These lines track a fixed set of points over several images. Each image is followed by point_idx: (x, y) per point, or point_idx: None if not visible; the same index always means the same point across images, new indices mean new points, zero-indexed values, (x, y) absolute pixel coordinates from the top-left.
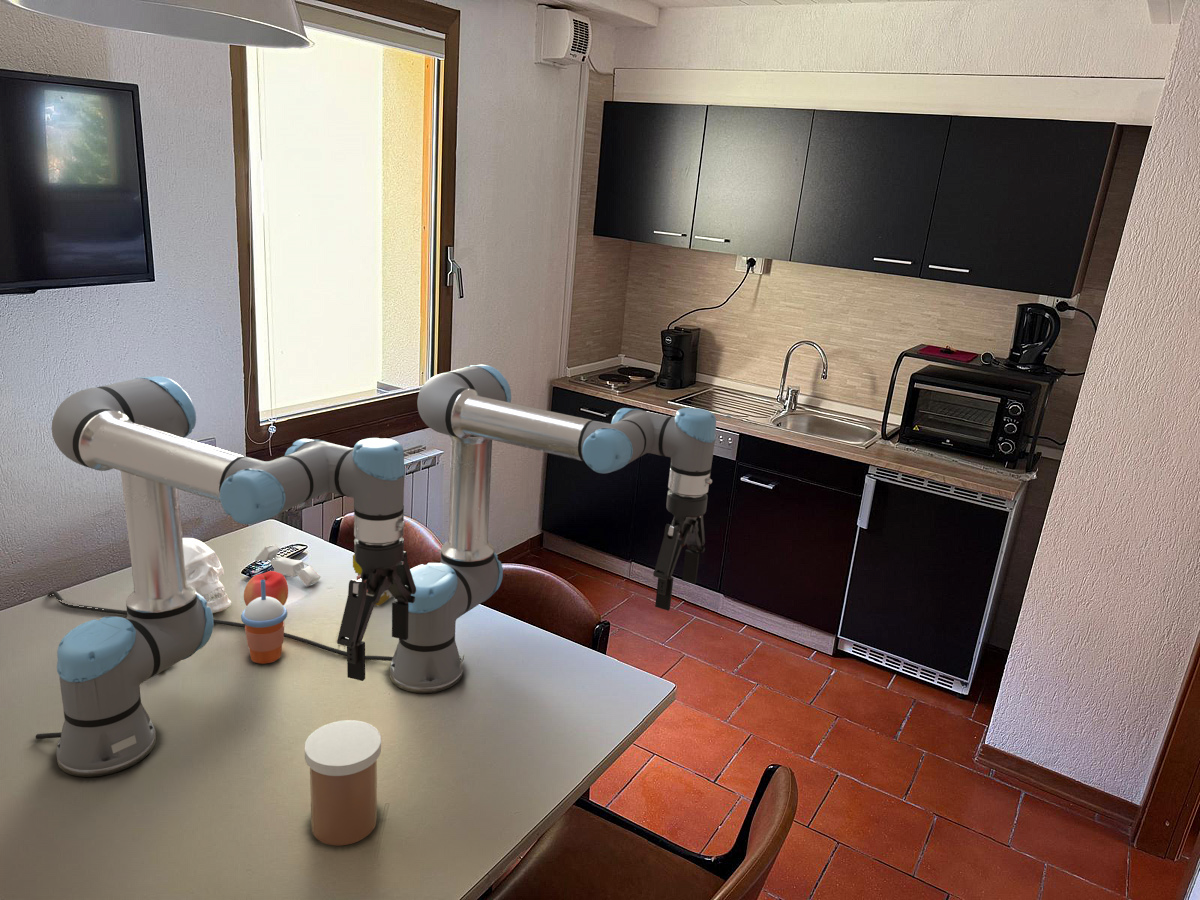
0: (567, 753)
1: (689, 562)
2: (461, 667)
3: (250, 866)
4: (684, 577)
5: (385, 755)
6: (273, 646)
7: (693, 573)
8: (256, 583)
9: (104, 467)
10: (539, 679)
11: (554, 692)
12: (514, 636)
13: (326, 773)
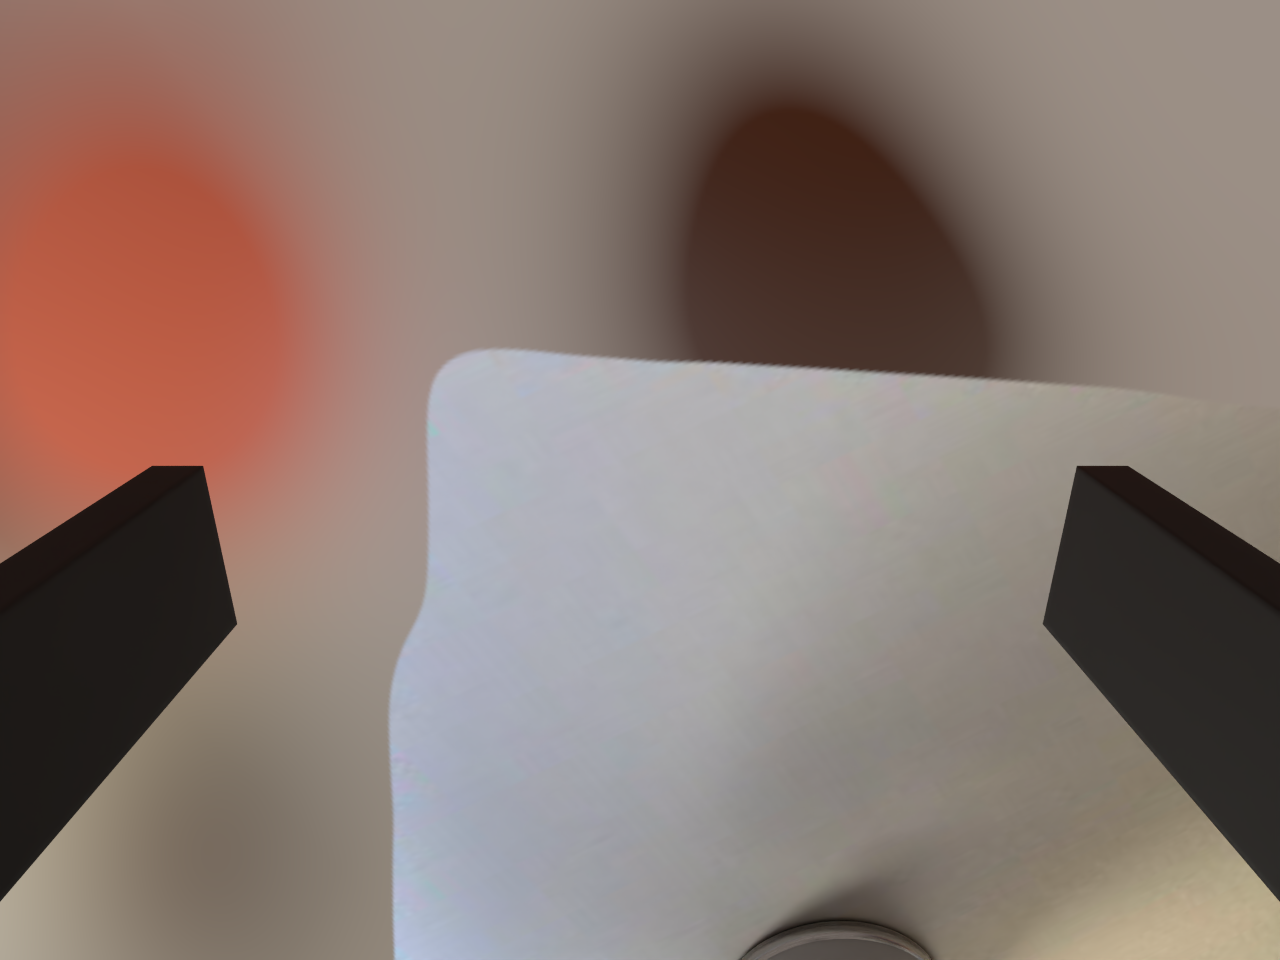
0: (1024, 490)
1: (32, 750)
2: (800, 958)
3: None
4: (207, 627)
5: (1236, 882)
6: None
7: (127, 565)
8: None
9: None
10: (667, 754)
11: (710, 682)
12: (481, 924)
13: None
